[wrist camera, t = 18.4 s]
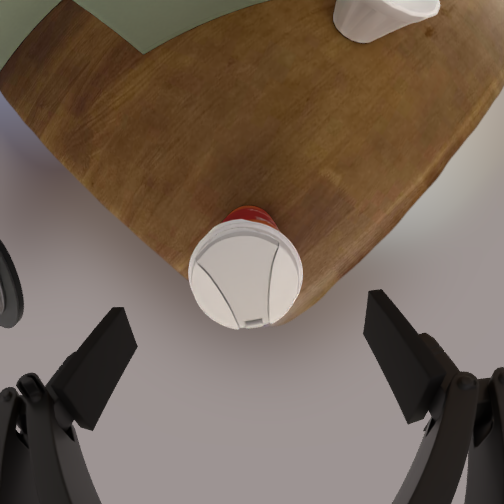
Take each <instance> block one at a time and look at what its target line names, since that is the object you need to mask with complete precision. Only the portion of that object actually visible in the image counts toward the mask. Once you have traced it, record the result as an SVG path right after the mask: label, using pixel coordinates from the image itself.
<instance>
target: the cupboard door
mask: <svg viewBox="0 0 504 504" xmlns="http://www.w3.org/2000/svg"><path fill="white" fill-rule="evenodd" d="M60 1H61V0H0V71H1V69H2V68H3V66H4V65H5V63H6V62H7V61H8V59H9V58H10V57H11V55H12V54H13V53H14V51H15V50H16V49H17V48H18V46H19V45H20V44H21V43H22V41H23V40H24V39H25V38H26V37H27V36H28V34H29V33H30V32H31V31H32V30H33V29H34V28H35V26H36V25H37V24H38V23H39V22H40V21H41V20H42V19H43V18H44V17H45V16H46V15H47V14H48V13H49V12H50V11H51V10H52V9H53V8H54V7H55V6H56V5H57V4H58V3H59V2H60Z"/></svg>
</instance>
